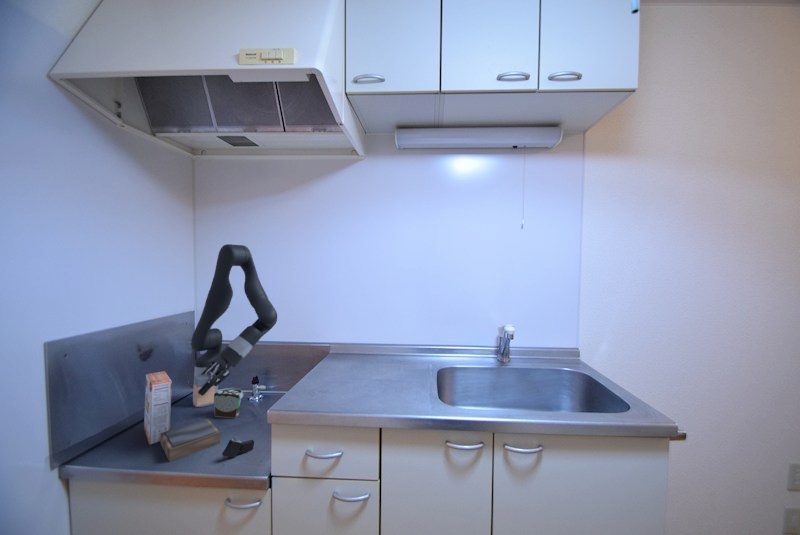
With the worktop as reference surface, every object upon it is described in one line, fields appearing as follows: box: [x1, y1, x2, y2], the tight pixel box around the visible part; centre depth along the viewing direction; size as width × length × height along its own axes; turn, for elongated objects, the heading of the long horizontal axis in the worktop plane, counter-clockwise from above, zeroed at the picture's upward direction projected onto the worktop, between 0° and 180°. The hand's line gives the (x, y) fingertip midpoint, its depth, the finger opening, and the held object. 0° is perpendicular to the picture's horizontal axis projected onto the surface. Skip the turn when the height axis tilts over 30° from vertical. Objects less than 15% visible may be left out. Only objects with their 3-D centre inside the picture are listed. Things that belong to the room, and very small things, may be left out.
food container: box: [213, 387, 244, 419], centre depth 122 cm, size 12×6×10 cm, turn 84°
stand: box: [159, 418, 221, 462], centre depth 100 cm, size 14×14×4 cm
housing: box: [192, 374, 214, 406], centre depth 103 cm, size 5×5×9 cm
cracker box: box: [143, 370, 173, 446], centre depth 105 cm, size 14×6×21 cm, turn 47°
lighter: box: [221, 435, 255, 458], centre depth 96 cm, size 9×2×6 cm
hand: (197, 391), depth 101 cm, fingers closed on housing, 5 cm apart
